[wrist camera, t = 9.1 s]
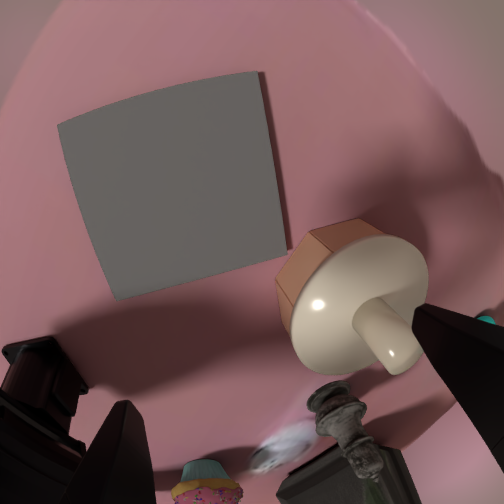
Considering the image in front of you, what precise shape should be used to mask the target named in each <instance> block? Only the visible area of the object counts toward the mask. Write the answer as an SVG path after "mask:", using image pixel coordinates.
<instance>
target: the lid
mask: <svg viewBox="0 0 504 504" xmlns="http://www.w3.org/2000/svg"><path fill="white" fill-rule="evenodd" d="M428 282H429V281H428V269H427V265H426V262H425V259H424V257H423V255H422V254H421V252H420V251H419V250H418V249H417V248H416V247H415V246H414V245H412V244H411V243H409V242H407V241H406V240H404V239H402V238H400V237H398V236H394V235H390V234H374V235H370V236H365V237H362V238H360V239H357V240H354V241H352V242H350V243H348V244H347V245H345V246H343V247H342V248H340V249H339V250H337V251H336V252H334V253H333V254H332V255H331V256H329V257H328V258H327V259H326V260H325V261H324V262H323V263H322V264H321V265H320V266H319V267H318V268H317V269H316V270H315V271H314V272H313V274H312V275H311V276H310V277H309V278H308V280H307V281H306V283H305V284H304V286H303V287H302V289H301V291H300V293H299V295H298V297H297V299H296V301H295V304H294V307H293V310H292V314H291V318H290V326H289V330H290V339H291V343H292V346H293V348H294V350H295V352H296V354H297V356H298V357H299V359H300V360H301V362H302V363H303V364H304V365H305V366H306V367H307V368H309V369H310V370H312V371H314V372H317V373H319V374H324V375H343V374H348V373H352V372H355V371H358V370H361V369H363V368H365V367H367V366H369V365H371V364H373V363H375V362H377V361H378V360H379V361H380V362H381V363H382V364H383V365H384V367H385V368H386V369H387V370H388V372H389V373H390V374H392V375H397V374H401V373H403V372H405V371H406V370H408V369H409V368H411V367H412V366H413V365H414V364H415V363H416V362H417V361H418V360H419V358H420V357H421V355H422V354H423V352H424V351H423V349H422V347H421V346H420V344H419V343H418V341H417V339H416V338H415V336H414V334H413V332H412V329H411V325H412V320H413V314H414V310H415V308H416V307H418V306H420V305H422V304H424V302H425V299H426V295H427V291H428Z"/></svg>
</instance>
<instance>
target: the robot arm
mask: <svg viewBox="0 0 504 504" xmlns="http://www.w3.org/2000/svg"><path fill="white" fill-rule="evenodd" d="M411 329H412V332H413V334H414V336H415V338H416V339H417V341H418V343H419V344H420V346H421V347H422V349H423V351H424V352H425V354H426V356H427V358H428V359H429V361H430V363H431V364H432V366H433V367H434V369H435V370H436V372H437V373H438V374H439V376H440V377H441V379H442V380H443V381H444V383H445V384H446V385H447V387H448V388H449V390H450V391H451V392H452V394H453V395H454V397H455V398H456V400H457V401H458V402H459V404H460V405H461V407H462V408H463V410H464V411H465V413H466V414H467V416H468V417H469V418H470V420H471V422H472V423H473V425H474V426H475V427H476V429H477V431H478V432H479V434H480V435H481V437H482V438H483V440H484V441H485V443H486V445H487V446H488V448H489V449H490V450H491V453H492V455H493V456H494V458H495V459H496V461H497V463H498V464H499V466H500V467H501V470H502V471H503V473H504V327H502V326H499V325H495V324H492V323H489V322H486V321H482V320H479V319H476V318H473V317H469V316H466V315H463V314H460V313H456V312H453V311H450V310H447V309H443V308H440V307H437V306H434V305H430V304H427V303H425V304H422V305H420V306H418V307H416V308H415V310H414V314H413V320H412V325H411ZM49 342H50V343H49ZM51 343H52V344H51ZM2 354H3V355H4V357H5V358H6V359H7V361H8V362H9V364H10V367H9V369H8V371H7V373H6V376H5V378H4V380H3V383H2V385H1V387H0V504H156V496H155V488H154V478H153V469H152V462H151V457H150V452H149V447H148V442H147V437H146V431H145V425H144V420H143V418H142V416H141V414H140V413H139V411H138V410H137V409H136V407H135V406H134V405H133V403H132V402H131V401H130V400H122V401H117V402H116V403H115V404H114V406H113V407H112V409H111V411H110V412H109V414H108V416H107V417H106V419H105V421H104V422H103V424H102V426H101V428H100V429H99V431H98V433H97V434H96V436H95V438H94V440H93V441H92V443H91V445H90V447H89V448H88V450H87V452H86V446H85V443H83V442H82V441H80V440H76V439H74V438H73V437H71V436H69V429H70V423H71V418H72V417H74V416H75V414H76V409H77V404H78V399H79V395H85V394H87V393H88V390H89V388H88V386H87V385H86V384H85V382H84V381H83V379H82V378H81V377H80V375H79V374H78V372H77V371H76V370H75V368H74V367H73V365H72V364H71V362H70V361H69V360H68V358H67V357H66V355H65V354H64V352H63V351H62V349H61V348H60V346H59V344H58V343H57V341H56V340H55V339H54V338H53V337H45V338H40V339H36V340H31V341H27V342H22V343H17V344H12V345H7V346H4V347H3V349H2Z"/></svg>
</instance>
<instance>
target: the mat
mask: <svg viewBox="0 0 504 504" xmlns="http://www.w3.org/2000/svg"><path fill="white" fill-rule="evenodd" d="M57 128H58V132H59V137H60V141H61V145H62V149H63V153H64V157H65V161H66V165H67V168H68V172H69V176H70V179H71V182H72V186H73V189H74V192H75V196H76V199H77V202H78V205H79V208H80V211H81V214H82V217H83V220H84V223H85V226H86V228H87V231H88V234H89V237H90V239H91V242H92V245H93V247H94V250H95V252H96V255H97V258H98V260H99V262H100V265H101V267H102V270H103V272H104V275H105V277H106V279H107V282H108V284H109V286H110V288H111V291H112V293H113V295H114V297H115V299H116V301H120V300H124V299H127V298H131V297H135V296H139V295H142V294H146V293H150V292H154V291H157V290H161V289H165V288H169V287H172V286H176V285H180V284H184V283H187V282H191V281H195V280H198V279H202V278H206V277H209V276H213V275H217V274H220V273H224V272H228V271H231V270H235V269H238V268H242V267H246V266H249V265H253V264H256V263H260V262H264V261H267V260H271V259H274V258H278V257H281V256H285V255H288V254H287V247H286V240H285V233H284V226H283V219H282V212H281V206H280V199H279V193H278V186H277V180H276V174H275V168H274V162H273V156H272V150H271V144H270V138H269V132H268V126H267V121H266V115H265V110H264V104H263V99H262V93H261V88H260V83H259V78H258V72H257V71H252V72H245V73H238V74H231V75H225V76H219V77H213V78H208V79H203V80H198V81H193V82H188V83H184V84H179V85H175V86H171V87H167V88H163V89H159V90H155V91H152V92H148V93H145V94H141V95H138V96H134V97H131V98H128V99H125V100H121V101H118V102H115V103H112V104H109V105H106V106H104V107H101V108H98V109H95V110H93V111H90V112H87V113H85V114H82V115H79V116H77V117H74V118H72V119H70V120H67V121H65V122H62V123H60V124H58V125H57Z"/></svg>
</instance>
